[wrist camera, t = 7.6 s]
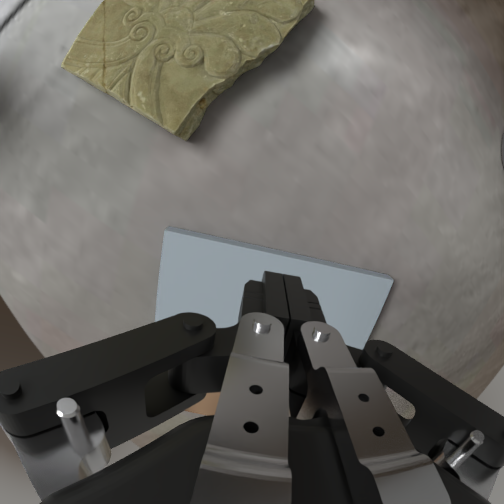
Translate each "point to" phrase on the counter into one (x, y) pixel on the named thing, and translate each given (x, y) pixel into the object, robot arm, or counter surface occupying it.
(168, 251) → the grey plank
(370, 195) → the counter surface
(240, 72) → the decorative tile
